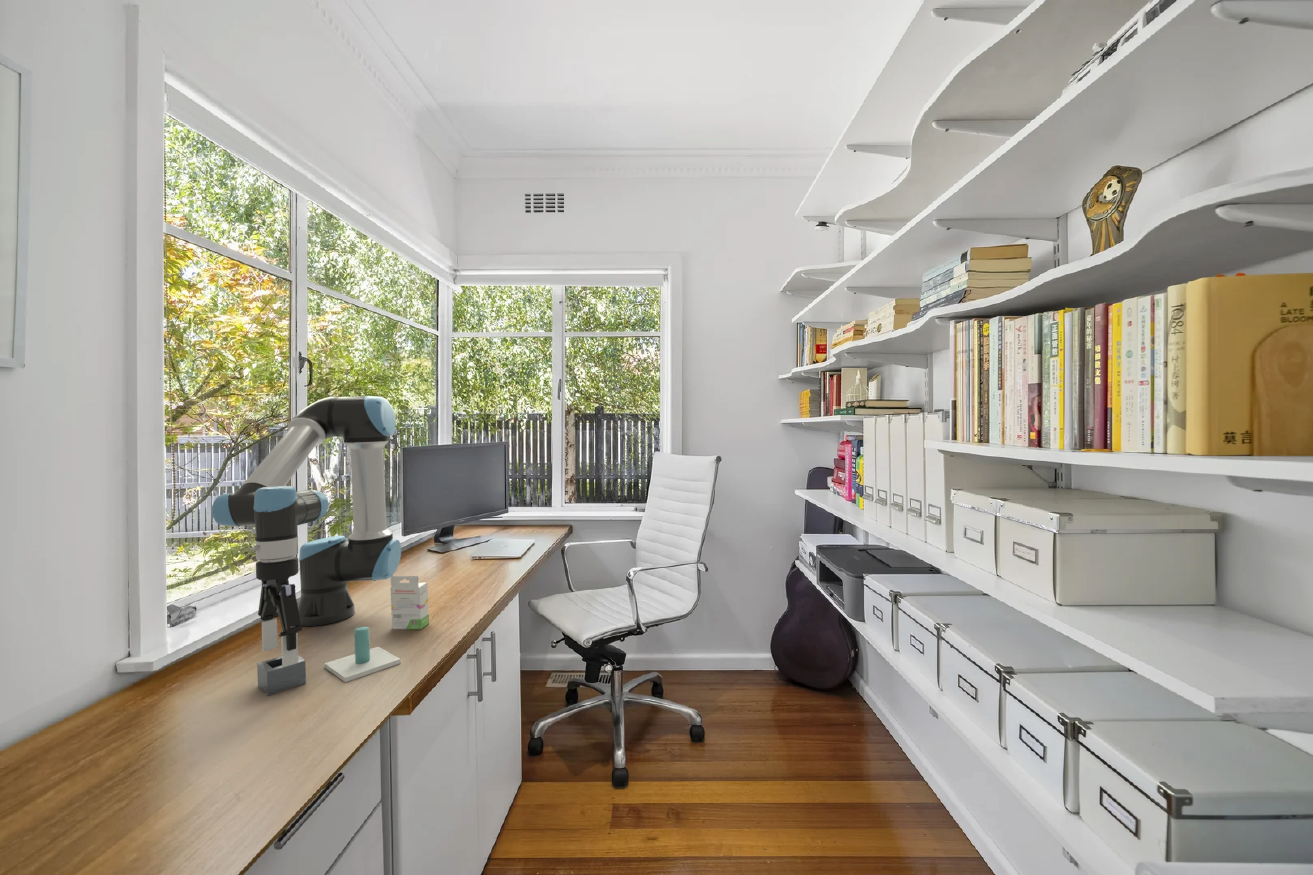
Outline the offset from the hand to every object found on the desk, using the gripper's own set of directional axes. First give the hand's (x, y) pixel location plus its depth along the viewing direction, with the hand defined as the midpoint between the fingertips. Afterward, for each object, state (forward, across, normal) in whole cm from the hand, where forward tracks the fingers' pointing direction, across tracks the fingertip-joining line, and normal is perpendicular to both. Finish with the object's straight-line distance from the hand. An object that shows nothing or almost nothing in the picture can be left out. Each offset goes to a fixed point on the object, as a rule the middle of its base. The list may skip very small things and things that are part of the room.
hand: (279, 656), depth 118 cm
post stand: (+6, +4, +15) cm, 17 cm away
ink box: (+6, -12, +34) cm, 37 cm away
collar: (+6, 0, 0) cm, 6 cm away
